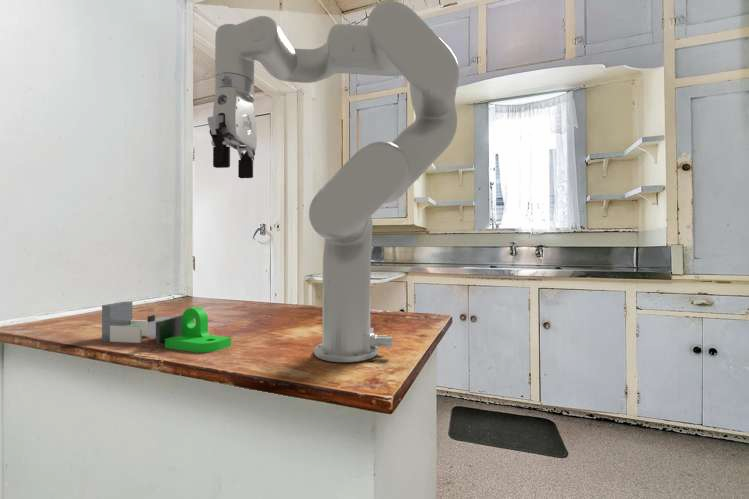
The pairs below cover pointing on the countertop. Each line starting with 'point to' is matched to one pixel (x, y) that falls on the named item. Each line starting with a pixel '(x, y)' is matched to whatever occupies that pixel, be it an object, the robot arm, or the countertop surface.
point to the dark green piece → (163, 328)
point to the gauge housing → (121, 324)
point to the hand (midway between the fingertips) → (234, 173)
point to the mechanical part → (196, 334)
